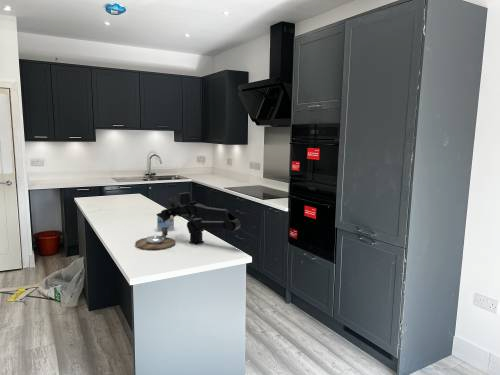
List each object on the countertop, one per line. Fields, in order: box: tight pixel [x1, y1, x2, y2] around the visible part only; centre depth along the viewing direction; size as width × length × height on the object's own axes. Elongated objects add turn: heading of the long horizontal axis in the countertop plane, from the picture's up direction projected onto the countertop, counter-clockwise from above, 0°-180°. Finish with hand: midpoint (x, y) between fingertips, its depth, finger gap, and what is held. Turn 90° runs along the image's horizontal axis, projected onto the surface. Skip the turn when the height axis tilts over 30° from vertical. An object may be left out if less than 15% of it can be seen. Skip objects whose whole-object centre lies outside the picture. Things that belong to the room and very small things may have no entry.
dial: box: [145, 227, 169, 244], centre depth 217 cm, size 14×10×6 cm
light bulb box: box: [156, 215, 175, 232], centre depth 248 cm, size 11×7×11 cm, turn 105°
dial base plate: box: [134, 236, 176, 251], centre depth 216 cm, size 22×22×2 cm
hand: (161, 212), depth 230 cm, fingers open, 9 cm apart
